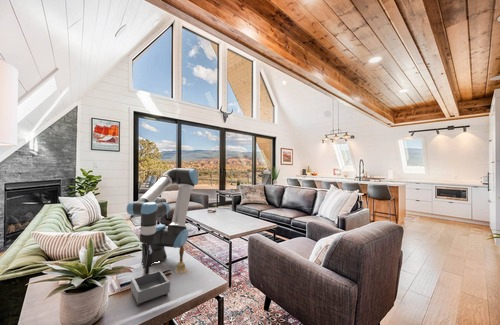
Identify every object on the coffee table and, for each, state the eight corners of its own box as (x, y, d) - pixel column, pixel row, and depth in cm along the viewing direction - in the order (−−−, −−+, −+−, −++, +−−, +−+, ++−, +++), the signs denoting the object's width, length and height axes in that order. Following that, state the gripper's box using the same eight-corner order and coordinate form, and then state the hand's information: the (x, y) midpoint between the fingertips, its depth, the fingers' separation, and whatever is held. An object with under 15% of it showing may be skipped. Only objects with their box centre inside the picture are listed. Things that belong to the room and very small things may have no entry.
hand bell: (172, 270, 127) (173, 244, 128) (186, 268, 131) (187, 242, 131) (174, 277, 120) (175, 249, 120) (189, 274, 124) (190, 247, 124)
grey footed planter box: (130, 292, 102) (131, 278, 102) (160, 283, 111) (160, 270, 112) (137, 308, 92) (138, 292, 92) (169, 296, 101) (170, 281, 101)
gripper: (137, 230, 110) (134, 275, 110) (143, 238, 100) (141, 287, 100) (152, 228, 115) (150, 271, 115) (159, 235, 105) (157, 282, 105)
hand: (145, 278), depth 107 cm, fingers closed
